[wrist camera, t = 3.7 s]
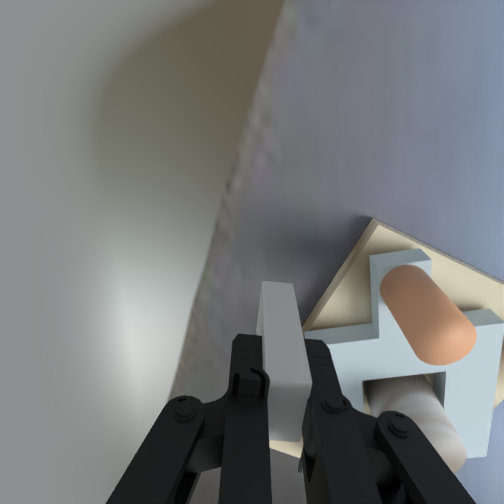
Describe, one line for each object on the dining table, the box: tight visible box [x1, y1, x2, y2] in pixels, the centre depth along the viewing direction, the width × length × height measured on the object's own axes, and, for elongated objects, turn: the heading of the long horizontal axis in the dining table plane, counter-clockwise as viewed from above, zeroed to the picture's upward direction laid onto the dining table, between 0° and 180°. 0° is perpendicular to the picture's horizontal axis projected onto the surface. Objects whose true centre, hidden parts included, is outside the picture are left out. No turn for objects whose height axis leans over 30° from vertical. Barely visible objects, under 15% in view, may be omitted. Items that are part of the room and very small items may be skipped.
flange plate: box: [304, 248, 504, 458], centre depth 22 cm, size 17×12×7 cm
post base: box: [269, 218, 504, 474], centre depth 24 cm, size 20×16×7 cm
